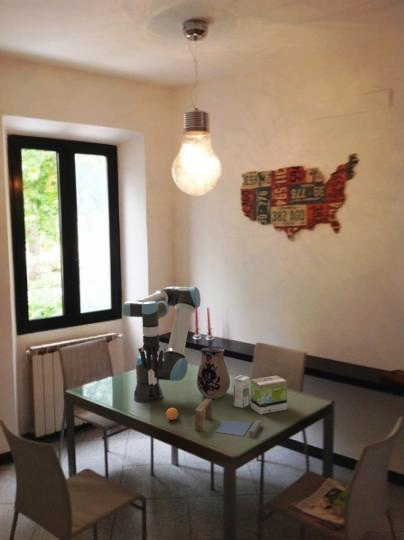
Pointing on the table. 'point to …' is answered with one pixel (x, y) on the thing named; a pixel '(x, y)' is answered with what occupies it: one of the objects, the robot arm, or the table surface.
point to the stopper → (255, 428)
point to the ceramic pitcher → (213, 373)
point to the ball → (172, 413)
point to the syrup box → (241, 391)
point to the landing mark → (233, 428)
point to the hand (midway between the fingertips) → (152, 383)
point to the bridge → (199, 410)
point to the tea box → (268, 394)
